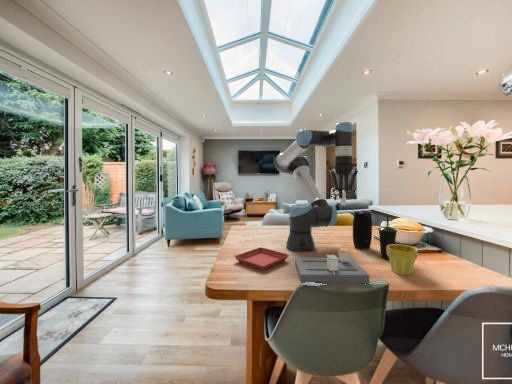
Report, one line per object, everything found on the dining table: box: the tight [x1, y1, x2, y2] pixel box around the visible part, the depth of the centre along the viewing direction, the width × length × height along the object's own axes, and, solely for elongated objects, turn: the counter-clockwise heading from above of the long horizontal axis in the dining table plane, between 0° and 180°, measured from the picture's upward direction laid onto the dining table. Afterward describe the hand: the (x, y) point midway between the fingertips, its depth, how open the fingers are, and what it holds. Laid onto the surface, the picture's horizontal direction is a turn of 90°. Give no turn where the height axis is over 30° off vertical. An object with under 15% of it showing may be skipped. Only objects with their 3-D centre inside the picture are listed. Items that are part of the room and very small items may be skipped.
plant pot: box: [387, 243, 419, 276], centre depth 93 cm, size 10×10×10 cm
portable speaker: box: [352, 210, 373, 250], centre depth 125 cm, size 9×9×20 cm
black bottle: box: [378, 215, 398, 261], centre depth 108 cm, size 8×8×20 cm
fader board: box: [294, 257, 370, 284], centre depth 93 cm, size 24×18×3 cm
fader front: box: [326, 254, 339, 271], centre depth 88 cm, size 3×4×4 cm
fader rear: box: [337, 247, 350, 262], centre depth 96 cm, size 3×4×4 cm
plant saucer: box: [234, 246, 290, 271], centre depth 106 cm, size 18×18×3 cm
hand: (343, 205), depth 113 cm, fingers closed
